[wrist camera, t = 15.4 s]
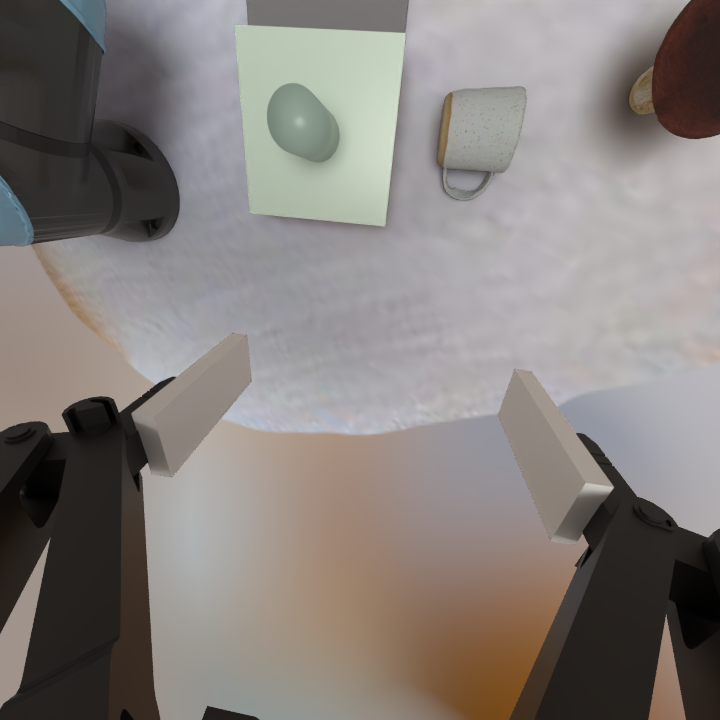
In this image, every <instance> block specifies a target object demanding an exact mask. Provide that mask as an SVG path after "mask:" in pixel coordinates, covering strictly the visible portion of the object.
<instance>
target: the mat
mask: <svg viewBox="0 0 720 720" xmlns="http://www.w3.org/2000/svg"><path fill="white" fill-rule="evenodd" d="M407 10H408V0H247V15H248V25H253V26H274V27H294V28H314V29H334V30H355V31H375V32H395V33H405V28H406V19H407Z"/></svg>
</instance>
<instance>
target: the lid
mask: <svg viewBox="0 0 720 720" xmlns="http://www.w3.org/2000/svg"><path fill="white" fill-rule="evenodd" d="M234 26H235V38H236V51H237V63H238V75H239V87H240V100H241V112H242V124H243V137H244V149H245V161H246V173H247V186H248V198H249V210H250V213H252V214H262V215H273V216H283V217H293V218H304V219H314V220H324V221H334V222H345V223H355V224H365V225H376V226H386V218H387V209H388V200H389V191H390V181H391V172H392V163H393V154H394V144H395V135H396V126H397V117H398V107H399V98H400V89H401V80H402V70H403V61H404V52H405V43H406V33H395V32H375V31H355V30H334V29H314V28H294V27H274V26H253V25H234Z"/></svg>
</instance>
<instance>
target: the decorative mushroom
mask: <svg viewBox="0 0 720 720" xmlns="http://www.w3.org/2000/svg"><path fill="white" fill-rule="evenodd" d="M629 103H630V107H631V108H632V109H633V110H634V111H635V112H636V113H637V114H649V113H653V112H655V114H656V117H657V119H658V121H659V122H660V123H661V124H662V125H663V126H664V128H665V129H667V130H668V131H669V132H671V133H672V134H674V135H676V136H680V137H684V138H688V139H701V138H707V137H712V136H716V135H719V134H720V0H691V1H690V2H689V3H688V4H687V5H686V7H685V8H684V9H683V10H682V12H681V13H680V14H679V15H678V17H677V18H676V19H675V21H674V22H673V24H672V25H671V27H670V29H669V30H668V32H667V34H666V36H665V38H664V40H663V42H662V44H661V46H660V48H659V50H658V53H657V56H656V59H655V63H654V65H653V66H652V67H650V68H649V69H648V70H647V71H646V72H644V73H643V74H642V75H641V76H640V77H639V78H638V79H637V81H636V82H635V84H634V86H633V87H632V89H631V92H630V96H629Z"/></svg>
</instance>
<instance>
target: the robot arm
mask: <svg viewBox="0 0 720 720" xmlns="http://www.w3.org/2000/svg"><path fill="white" fill-rule="evenodd" d="M105 24H106V3H105V0H0V246H12V245H13V246H26V245H29V244H35V243H42V242H49V241H56V240H63V239H70V238H76V237H83V236H90V235H97V234H101V235H105V236H109V237H113V238H118V239H122V240H126V241H131V242H144V241H150V240H155V239H158V238H160V237H162V236H164V235H165V234H167V233H168V232H169V231H170V230H171V228H172V227H173V225H174V223H175V221H176V219H177V215H178V211H179V194H178V188H177V184H176V180H175V177H174V175H173V172H172V170H171V168H170V166H169V164H168V162H167V160H166V159H165V157H164V156H163V154H162V153H161V152H160V150H159V149H158V148H157V147H156V146H155V144H154V143H153V142H152V141H151V140H149V139H148V138H147V137H146V136H145V135H143V134H142V133H140V132H139V131H137V130H136V129H134V128H132V127H129V126H127V125H124V124H120V123H116V122H112V121H108V120H94V113H95V106H96V98H97V90H98V82H99V75H100V67H101V59H102V54H103V55H105V54H106V47H105V44H104V36H105ZM251 381H252V378H251V369H250V359H249V349H248V339H247V335H245V334H237V333H232V334H230V335H229V336H228V337H227V338H225V339H224V340H223V341H222V342H220V343H219V344H218V345H217V346H215V347H214V348H213V349H212V350H210V351H209V352H208V353H207V354H205V355H204V356H203V357H202V358H200V359H199V360H198V361H197V362H195V363H194V364H193V365H192V366H190V367H189V368H188V369H186V370H185V371H184V372H183V373H181V374H180V375H179V376H178V377H170V378H168V379H166V380H164V381H161V382H159V383H158V384H157V385H155V386H154V387H153V388H151V389H150V391H147V392H146V393H145V394H143V395H142V397H140V398H138V399H137V400H136V401H134V402H133V403H132V404H130V405H129V406H128V407H126V408H125V409H124V410H122V411H121V412H120V413H119V412H118V409H117V406H116V404H115V402H114V399H112V398H110V397H102V396H100V397H92V398H88V399H84V400H81V401H79V402H76V403H74V404H72V405H70V406H69V407H68V408H66V409H65V410H64V412H63V413H62V417H63V419H64V421H65V423H66V425H67V427H68V429H69V432H63V433H51V431H50V429H49V427H48V425H47V424H46V423H44V422H40V421H38V422H27V423H21V424H18V425H16V426H12V427H9V428H8V429H6V430H4V431H2V432H0V633H1V631H2V629H3V627H4V626H5V624H6V622H7V619H8V618H9V616H10V614H11V612H12V610H13V608H14V606H15V604H16V602H17V600H18V598H19V597H20V595H21V592H22V591H23V589H24V587H25V585H26V583H27V581H28V579H29V577H30V575H31V573H32V572H33V570H34V568H35V566H36V564H37V562H38V560H39V558H40V556H41V554H42V552H43V550H44V548H45V546H46V545H47V543H48V541H49V539H50V544H49V549H48V553H47V558H46V563H45V568H44V573H43V578H42V583H41V588H40V593H39V598H38V603H37V608H36V613H35V618H34V623H33V628H32V632H31V638H30V642H29V648H28V653H27V657H26V663H25V667H24V672H23V677H22V681H21V685H20V688H19V690H18V691H17V693H16V695H15V696H14V697H12V698H10V699H9V700H8V701H6V702H5V703H4V704H3V706H2V707H1V709H0V720H160V715H159V710H158V706H157V701H156V697H155V691H154V680H153V679H154V678H153V661H152V643H151V625H150V608H149V589H148V573H147V554H146V538H145V537H146V536H145V520H144V501H143V483H142V476H141V473H140V470H141V469H142V468H143V467H144V466H145V464H147V463H148V464H149V467H150V470H151V473H152V474H153V475H159V476H165V477H173V475H174V474H175V473H176V472H177V471H178V470H179V468H180V467H181V466H182V465H183V463H184V462H185V461H186V460H187V459H188V457H189V456H190V455H191V454H192V452H193V451H194V450H195V449H196V448H197V447H198V445H199V444H200V443H201V442H202V440H203V439H204V438H205V437H206V436H207V434H208V433H209V432H210V431H211V430H212V428H213V427H214V426H215V425H216V424H217V422H218V421H219V420H220V419H221V418H222V416H223V415H224V414H225V413H226V412H227V410H228V409H229V408H230V407H231V406H232V404H233V403H234V402H235V401H236V399H237V398H238V397H239V396H240V395H241V393H242V392H243V391H244V390H245V389H246V387H247V386H248V385H249V384H250V383H251ZM498 417H499V420H500V422H501V424H502V427H503V429H504V432H505V434H506V436H507V439H508V441H509V443H510V446H511V448H512V451H513V453H514V455H515V458H516V460H517V463H518V465H519V467H520V470H521V472H522V475H523V477H524V479H525V482H526V484H527V486H528V489H529V491H530V493H531V496H532V499H533V501H534V503H535V506H536V508H537V510H538V513H539V515H540V518H541V520H542V522H543V525H544V527H545V530H546V532H547V534H548V537H549V539H550V541H553V542H559V543H565V544H571V545H575V544H576V542H577V541H578V539H579V538H580V536H581V535H582V534H583V535H584V536H585V539H586V541H587V542H588V544H589V546H588V548H587V549H586V551H585V552H584V553H583V555H582V556H581V557H580V559H579V560H578V562H577V563H576V565H575V566H576V567H577V570H576V572H575V574H574V576H573V579H572V581H571V583H570V585H569V588H568V590H567V592H566V594H565V596H564V599H563V601H562V603H561V605H560V608H559V610H558V612H557V614H556V616H555V619H554V621H553V623H552V625H551V628H550V630H549V632H548V634H547V637H546V639H545V641H544V643H543V645H542V648H541V650H540V652H539V655H538V657H537V659H536V661H535V663H534V666H533V668H532V670H531V672H530V674H529V677H528V679H527V681H526V683H525V686H524V688H523V690H522V692H521V695H520V697H519V699H518V701H517V703H516V706H515V708H514V710H513V712H512V715H511V717H510V719H509V720H648V718H649V712H650V706H651V700H652V694H653V688H654V682H655V676H656V670H657V664H658V658H659V652H660V646H661V640H662V634H663V628H664V623H665V617H666V615H667V620H668V625H669V631H670V636H671V642H672V646H673V652H674V658H675V662H676V668H677V674H678V679H679V684H680V690H681V695H682V701H683V706H684V710H685V716H686V720H720V529H718V530H716V531H715V532H713V534H712V535H711V536H710V537H708V538H707V537H704V536H702V535H699V534H696V533H694V532H691V531H688V530H686V529H683V528H681V527H678V525H677V524H676V522H675V521H674V520H673V518H672V517H671V516H669V514H667V513H666V512H665V511H664V510H663V509H661V508H660V507H658V506H657V505H655V504H654V503H652V502H650V501H647V500H645V499H643V498H639V497H637V496H636V494H635V493H634V492H633V491H632V489H631V488H630V487H629V485H628V484H627V483H626V481H625V480H624V479H623V478H622V476H621V475H620V474H619V472H618V471H617V470H616V469H615V467H614V466H612V463H611V462H610V461H609V459H608V458H607V457H605V454H604V453H603V452H602V450H601V449H600V448H599V446H598V445H597V444H596V443H595V442H594V441H592V440H591V439H590V438H588V437H587V436H586V435H585V434H581V433H575V432H574V430H573V429H572V428H571V426H570V425H569V423H568V422H567V421H566V419H565V418H564V417H563V415H562V414H561V412H560V411H559V409H558V408H557V407H556V405H555V404H554V402H553V401H552V400H551V398H550V397H549V395H548V394H547V392H546V391H545V390H544V388H543V387H542V385H541V384H540V383H539V381H538V380H537V378H536V377H535V376H534V374H533V373H532V371H526V370H518V369H514V372H513V375H512V378H511V380H510V383H509V386H508V389H507V391H506V394H505V397H504V400H503V402H502V405H501V408H500V411H499V413H498ZM50 537H51V538H50ZM202 720H259V719H258V718H256V717H254V716H249V715H244V714H240V713H236V712H231V711H227V710H223V709H218V708H214V707H209V706H207V708H206V711H205V713H204V716H203V718H202Z"/></svg>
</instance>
